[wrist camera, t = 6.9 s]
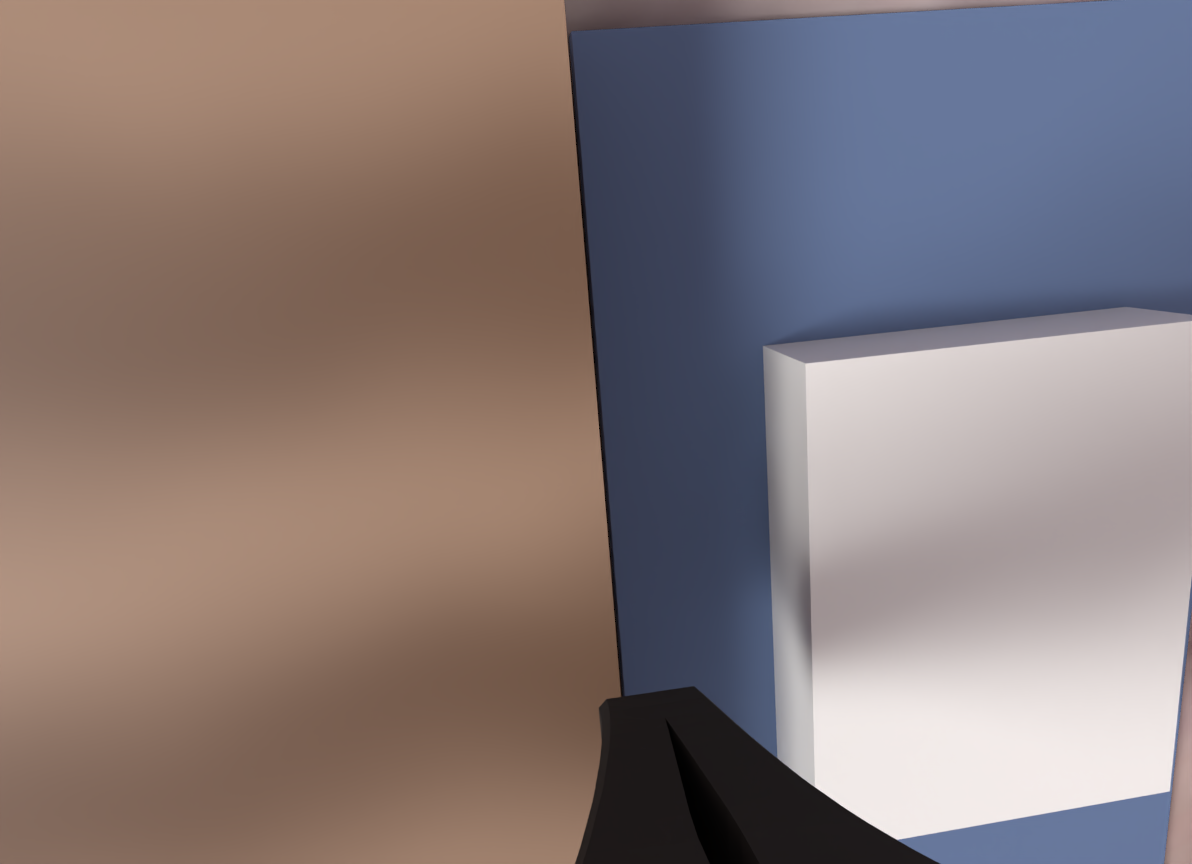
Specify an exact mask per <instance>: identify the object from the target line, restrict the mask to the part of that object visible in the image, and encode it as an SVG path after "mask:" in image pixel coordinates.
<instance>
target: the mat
mask: <svg viewBox="0 0 1192 864" xmlns="http://www.w3.org/2000/svg"><path fill="white" fill-rule="evenodd" d="M569 44H570V57H571V69H572V81H573V93H574V106H575V118H576V130H577V143H578V155H579V167H580V180H581V192H582V204H583V217H584V229H585V241H586V254H587V266H588V278H589V291H590V303H591V315H592V328H593V340H594V352H595V365H596V377H597V389H598V402H599V414H600V426H601V438H602V451H603V463H604V475H605V488H606V500H607V512H608V525H609V537H610V549H611V562H612V574H613V586H614V599H615V611H616V623H617V636H618V648H619V660H620V673H621V685H622V697H624V696H630V695H637V694H644V693H650V692H657V691H664V690H671V689H677V688H684V687H691V686H695V687H696V688H697V689H698V690H699V691H701V692H702V693H703V694H704V695H705V696H706V697H707V698H709V699H710V700H711V701H712V702H713V703H714V704H715V705H716V706H717V707H718V708H720V709H721V710H722V711H723V712H724V713H725V714H726V715H727V716H728V717H730V718H731V719H732V720H733V721H734V722H735V723H736V724H737V725H739V726H740V727H741V728H742V729H743V730H744V731H745V732H747V733H748V734H749V735H750V736H751V737H752V738H754V739H755V740H756V741H757V742H758V743H759V744H761V745H762V746H763V747H764V748H765V749H767V750H768V751H769V752H770V753H772V754H773V755H774V756H775V757H777V732H776V704H775V676H774V647H773V619H772V591H771V562H770V534H769V506H768V477H767V449H766V421H765V393H764V364H763V346H767V345H776V344H785V343H794V342H804V341H813V340H822V339H832V338H841V337H850V336H860V335H869V334H878V333H887V332H897V331H906V330H915V329H925V328H934V327H943V326H952V325H962V324H971V323H980V322H990V321H999V320H1008V319H1017V318H1027V317H1036V316H1045V315H1055V314H1064V313H1073V312H1082V311H1092V310H1101V309H1110V308H1120V307H1132V308H1140V309H1148V310H1157V311H1165V312H1173V313H1181V314H1190V315H1192V0H1109V1H1091V2H1074V3H1056V4H1039V5H1022V6H1004V7H987V8H969V9H952V10H934V11H917V12H900V13H882V14H865V15H847V16H830V17H812V18H795V19H777V20H760V21H743V22H725V23H708V24H690V25H673V26H655V27H638V28H620V29H603V30H586V31H571V33H570V36H569ZM1191 610H1192V579H1191V589H1190V599H1189V608H1188V618H1187V628H1186V638H1185V647H1184V657H1183V667H1182V677H1181V687H1180V696H1179V706H1178V716H1177V726H1176V735H1175V745H1174V755H1173V765H1172V774H1171V784H1170V791H1169V792H1164V793H1158V794H1152V795H1147V796H1141V797H1135V798H1130V799H1124V800H1119V801H1113V802H1107V803H1102V804H1096V805H1090V806H1085V807H1079V808H1073V809H1068V810H1062V811H1057V812H1051V813H1045V814H1040V815H1034V816H1028V817H1023V818H1017V819H1012V820H1006V821H1000V822H995V823H989V824H983V825H978V826H972V827H967V828H961V829H955V830H950V831H944V832H938V833H933V834H927V835H922V836H916V837H910V838H905V839H899V840H898V841H900V842H902V843H903V844H905V845H907V846H908V847H910V848H912V849H914V850H915V851H917V852H919V853H921V854H923V855H925V856H927V857H929V858H930V859H932V860H934V861H936V862H938V863H940V864H1164V859H1165V849H1166V840H1167V831H1168V822H1169V813H1170V803H1171V794H1172V785H1173V776H1174V767H1175V757H1176V748H1177V739H1178V730H1179V721H1180V712H1181V702H1182V693H1183V684H1184V675H1185V666H1186V656H1187V647H1188V638H1189V629H1190V620H1191Z"/></svg>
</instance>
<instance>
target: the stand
mask: <svg viewBox="0 0 1192 864" xmlns="http://www.w3.org/2000/svg"><path fill="white" fill-rule="evenodd" d="M617 697H621V690H620V678H619V665H618V653H617V641H616V629H615V616H614V604H613V592H612V580H611V567H610V555H609V543H608V531H607V518H606V506H605V494H604V482H603V469H602V457H601V445H600V433H599V420H598V408H597V396H596V384H595V371H594V359H593V347H592V335H591V323H590V310H589V298H588V286H587V274H586V261H585V249H584V237H583V225H582V212H581V200H580V188H579V176H578V163H577V151H576V139H575V127H574V114H573V102H572V90H571V78H570V65H569V53H568V41H567V29H566V16H565V4H564V0H0V864H575V862H576V859H577V856H578V853H579V849H580V846H581V842H582V839H583V835H584V831H585V828H586V824H587V820H588V817H589V813H590V809H591V805H592V801H593V797H594V791H595V786H596V780H597V774H598V769H599V763H600V755H601V744H602V739H601V728H600V718H599V707H600V706H601V705H602V703H603V702H604V701H605V700H606V699H610V698H617Z"/></svg>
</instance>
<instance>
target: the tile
mask: <svg viewBox="0 0 1192 864" xmlns="http://www.w3.org/2000/svg"><path fill="white" fill-rule="evenodd" d="M763 364H764V393H765V421H766V449H767V477H768V506H769V534H770V562H771V591H772V619H773V647H774V676H775V704H776V732H777V758H778V759H779V760H780V761H782V762H783V763H784V764H785V765H787V766H788V767H789V768H790V769H792V770H793V771H794V772H795V773H796V774H798V775H799V776H800V777H802V778H803V779H804V780H806V781H807V782H808V783H810V784H811V785H813V786H814V787H815V788H817V789H818V790H820V791H821V792H823V793H824V794H825V795H827V796H828V797H830V798H831V799H833V800H834V801H835V802H837V803H838V804H840V805H841V806H843V807H844V808H846V809H847V810H849V811H850V812H852V813H853V814H855V815H856V816H858V817H860V818H861V819H863V820H864V821H866V822H867V823H869V824H871V825H873V826H874V827H876V828H878V829H879V830H881V831H883V832H884V833H886V834H888V835H890V836H891V837H893V838H895V839H896V840H899V839H905V838H910V837H916V836H922V835H927V834H933V833H938V832H944V831H950V830H955V829H961V828H967V827H972V826H978V825H983V824H989V823H995V822H1000V821H1006V820H1012V819H1017V818H1023V817H1028V816H1034V815H1040V814H1045V813H1051V812H1057V811H1062V810H1068V809H1073V808H1079V807H1085V806H1090V805H1096V804H1102V803H1107V802H1113V801H1119V800H1124V799H1130V798H1135V797H1141V796H1147V795H1152V794H1158V793H1164V792H1169V791H1170V784H1171V774H1172V765H1173V755H1174V745H1175V735H1176V726H1177V716H1178V706H1179V696H1180V687H1181V677H1182V667H1183V657H1184V647H1185V638H1186V628H1187V618H1188V608H1189V599H1190V589H1191V579H1192V315H1190V314H1181V313H1173V312H1165V311H1157V310H1148V309H1140V308H1132V307H1120V308H1110V309H1101V310H1092V311H1082V312H1073V313H1064V314H1055V315H1045V316H1036V317H1027V318H1017V319H1008V320H999V321H990V322H980V323H971V324H962V325H952V326H943V327H934V328H925V329H915V330H906V331H897V332H887V333H878V334H869V335H860V336H850V337H841V338H832V339H822V340H813V341H804V342H794V343H785V344H776V345H767V346H763Z"/></svg>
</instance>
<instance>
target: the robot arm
mask: <svg viewBox="0 0 1192 864" xmlns="http://www.w3.org/2000/svg"><path fill="white" fill-rule="evenodd" d="M599 718H600V728H601V739H602V744H601V755H600V763H599V769H598V774H597V780H596V786H595V791H594V797H593V801H592V805H591V809H590V813H589V817H588V820H587V824H586V828H585V831H584V835H583V839H582V842H581V846H580V849H579V853H578V856H577V859H576V862H575V864H940V863H938V862H936V861H934V860H932V859H930V858H929V857H927V856H925V855H923V854H921V853H919V852H917V851H915V850H914V849H912V848H910V847H908V846H907V845H905V844H903V843H902V842H900V841H898V840H896V839H895V838H893V837H891V836H890V835H888V834H886V833H884V832H883V831H881V830H879V829H878V828H876V827H874V826H873V825H871V824H869V823H867V822H866V821H864V820H863V819H861V818H860V817H858V816H856V815H855V814H853V813H852V812H850V811H849V810H847V809H846V808H844V807H843V806H841V805H840V804H838V803H837V802H835V801H834V800H833V799H831V798H830V797H828V796H827V795H825V794H824V793H823V792H821V791H820V790H818V789H817V788H815V787H814V786H813V785H811V784H810V783H808V782H807V781H806V780H804V779H803V778H802V777H800V776H799V775H798V774H796V773H795V772H794V771H793V770H792V769H790V768H789V767H788V766H787V765H785V764H784V763H783V762H782V761H780V760H779V759H778V758H777V757H775V756H774V755H773V754H772V753H770V752H769V751H768V750H767V749H765V748H764V747H763V746H762V745H761V744H759V743H758V742H757V741H756V740H755V739H754V738H752V737H751V736H750V735H749V734H748V733H747V732H745V731H744V730H743V729H742V728H741V727H740V726H739V725H737V724H736V723H735V722H734V721H733V720H732V719H731V718H730V717H728V716H727V715H726V714H725V713H724V712H723V711H722V710H721V709H720V708H718V707H717V706H716V705H715V704H714V703H713V702H712V701H711V700H710V699H709V698H707V697H706V696H705V695H704V694H703V693H702V692H701V691H699V690H698V689H697V688H696V687H695V686H691V687H684V688H677V689H671V690H664V691H657V692H650V693H644V694H637V695H630V696H624V697H617V698H610V699H606V700H605V701H604V702H603V703H602V705H601V706H600V707H599Z"/></svg>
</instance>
